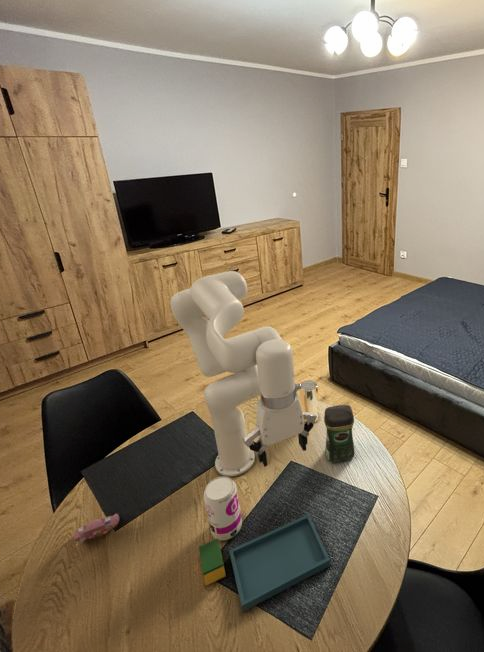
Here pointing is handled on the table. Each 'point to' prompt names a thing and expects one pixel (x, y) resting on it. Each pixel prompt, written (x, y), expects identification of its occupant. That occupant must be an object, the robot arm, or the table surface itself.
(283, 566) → the tray
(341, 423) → the coffee jar
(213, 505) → the supplement can
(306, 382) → the silver metal cylinder
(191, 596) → the table surface
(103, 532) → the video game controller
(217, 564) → the sponge
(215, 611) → the table surface
